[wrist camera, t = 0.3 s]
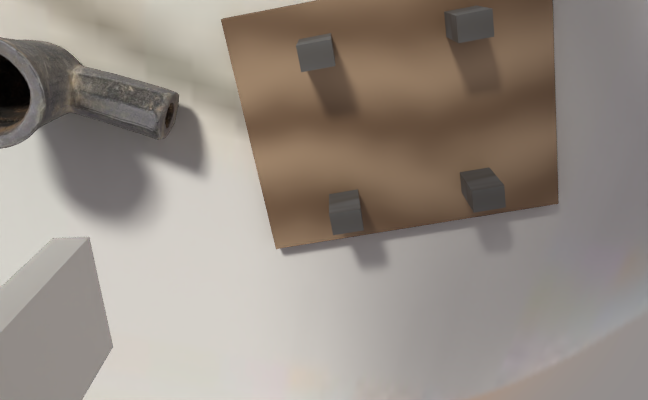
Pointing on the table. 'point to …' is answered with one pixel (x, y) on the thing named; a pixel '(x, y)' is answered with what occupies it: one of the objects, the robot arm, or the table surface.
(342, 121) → the collar cradle
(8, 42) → the pipe
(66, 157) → the table surface
